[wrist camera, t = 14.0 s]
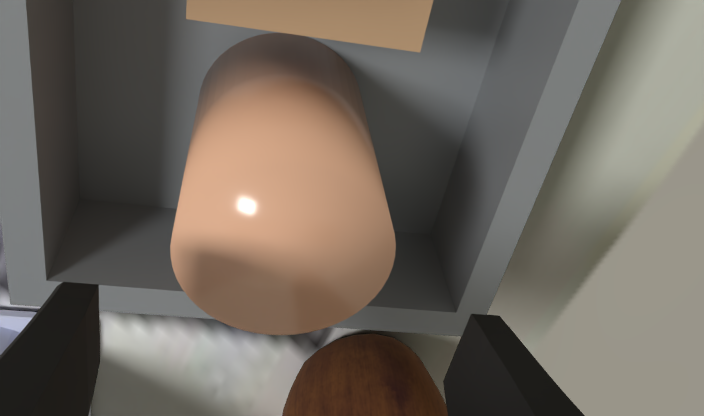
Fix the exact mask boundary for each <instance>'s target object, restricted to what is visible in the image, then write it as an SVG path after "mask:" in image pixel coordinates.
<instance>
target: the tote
mask: <svg viewBox="0 0 704 416" xmlns="http://www.w3.org/2000/svg"><path fill="white" fill-rule="evenodd" d="M620 2H621V0H433V4H432V8H431V12H430V16H429V20H428V23H427V27H426V31H425V35H424V39H423V43H422V47H421V51H420V52H413V51H406V50H399V49H392V48H385V47H378V46H371V45H364V44H357V43H350V42H343V41H336V40H329V39H322V38H315V37H308V36H305V37H308V38H311V39H314V40H316V41H318V42H320V43H322V44H324V45H326V46H327V47H329V48H330V49H331V50H333V51H334V52H335V53H337V54H338V55H339V56H340V57H341V58H342V59H343V60H344V61H345V63H346V64H347V65H348V66H349V68H350V69H351V71H352V73H353V74H354V76H355V78H356V81H357V83H358V85H359V89H360V93H361V97H362V101H363V105H364V109H365V113H366V117H367V122H368V126H369V130H370V134H371V138H372V142H373V146H374V151H375V155H376V159H377V163H378V167H379V171H380V175H381V180H382V184H383V188H384V192H385V196H386V200H387V204H388V208H389V213H390V217H391V221H392V225H393V229H394V233H395V242H396V250H395V259H394V263H393V267H392V270H391V272H390V275H389V277H388V279H387V281H386V283H385V284H384V286H383V288H382V289H381V290H380V291H379V293H378V294H377V295H376V296H375V298H373V299H372V300H371V301H370V302H369V303H368V304H367V305H366V306H365V307H364V308H362V309H361V310H360V311H358V312H357V313H356V314H354V315H352V316H351V317H349V318H347V319H346V320H343V321H341V322H339V323H337V324H335V325H332V326H329V327H335V328H349V329H364V330H378V331H392V332H406V333H420V334H434V335H448V336H462V335H463V332H464V330H465V327H466V325H467V322H468V320H469V318H470V315H471V314H483V315H487V313H488V310H489V308H490V306H491V303H492V301H493V299H494V296H495V294H496V292H497V289H498V287H499V285H500V282H501V280H502V278H503V275H504V273H505V271H506V268H507V266H508V263H509V261H510V259H511V256H512V254H513V252H514V249H515V247H516V245H517V242H518V240H519V238H520V235H521V233H522V231H523V228H524V226H525V224H526V221H527V219H528V217H529V214H530V212H531V210H532V207H533V205H534V203H535V200H536V198H537V196H538V193H539V191H540V189H541V186H542V184H543V182H544V179H545V177H546V175H547V172H548V170H549V168H550V165H551V163H552V161H553V158H554V156H555V154H556V151H557V149H558V147H559V144H560V142H561V140H562V137H563V135H564V133H565V130H566V128H567V126H568V123H569V121H570V119H571V116H572V114H573V112H574V109H575V107H576V105H577V102H578V100H579V98H580V95H581V93H582V91H583V88H584V86H585V84H586V81H587V79H588V77H589V74H590V72H591V70H592V67H593V65H594V63H595V60H596V58H597V56H598V53H599V51H600V49H601V46H602V44H603V42H604V39H605V37H606V35H607V32H608V30H609V28H610V25H611V23H612V21H613V18H614V16H615V14H616V11H617V9H618V7H619V4H620ZM186 6H187V0H0V218H1V227H2V236H3V244H4V253H5V262H6V270H7V279H8V287H9V296H10V304H11V305H25V306H39V307H42V305H43V304H44V303H45V301H46V300H47V299H48V298H49V296H50V295H51V294H52V292H53V291H54V289H55V288H56V287H57V286H58V285H59V284H61V283H62V282H73V283H86V284H99V311H110V312H124V313H138V314H152V315H166V316H180V317H194V318H208V319H215V318H213V317H212V316H210V315H208V314H207V313H206V312H204V311H203V310H202V309H200V308H199V307H198V306H197V305H196V304H195V303H194V302H193V301H192V300H191V299H190V298H189V297H188V296H187V294H186V293H185V292H184V291H183V289H182V288H181V286H180V284H179V282H178V280H177V278H176V276H175V273H174V270H173V267H172V262H171V254H170V244H171V238H172V232H173V227H174V222H175V217H176V212H177V207H178V202H179V196H180V191H181V186H182V181H183V176H184V171H185V166H186V161H187V155H188V150H189V145H190V140H191V135H192V130H193V125H194V120H195V114H196V109H197V104H198V99H199V94H200V89H201V86H202V83H203V80H204V78H205V76H206V74H207V72H208V70H209V69H210V67H211V66H212V64H213V63H214V62H215V61H216V60H217V59H218V58H219V56H220V55H221V54H223V53H224V52H225V51H226V50H228V49H229V48H230V47H232V46H234V45H235V44H237V43H239V42H241V41H243V40H245V39H248V38H250V37H254V36H257V35H262V34H268V33H280V32H273V31H266V30H259V29H252V28H245V27H238V26H231V25H224V24H217V23H210V22H203V21H196V20H189V19H186Z"/></svg>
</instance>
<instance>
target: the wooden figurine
mask: <svg viewBox="0 0 704 416" xmlns="http://www.w3.org/2000/svg"><path fill="white" fill-rule="evenodd" d="M282 416H448V412H447V406H446V404H445V402H444V400H443V398H442V396H441V394H440V392H439V390H438V388H437V386H436V385H435V383H434V381H433V380H432V378H431V376H430V375H429V373H428V371H427V370H426V368H425V366H424V365H423V363H422V361H421V360H420V358H419V357H418V356H417V355H416V354H415V353H414V352H413V351H412V350H411V349H410V348H409V347H408V346H406V345H405V344H403V343H401V342H400V341H398V340H396V339H395V338H392V337H388V336H382V335H377V334H361V335H353V336H349V337H345V338H341V339H337V340H335V341H333V342H332V343H330V344H328V345H326V346H325V347H323V348H321V349H320V350H318V351H317V352H316V353H315V354H313V355H312V356H311V357H310V358H309V359H308V360H306V361H305V362H304V364H303V366H302V368H301V369H300V371H299V373H298V375H297V377H296V379H295V381H294V383H293V385H292V387H291V390H290V392H289V395H288V398H287V401H286V404H285V407H284V410H283V415H282Z"/></svg>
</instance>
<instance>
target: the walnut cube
mask: <svg viewBox="0 0 704 416" xmlns="http://www.w3.org/2000/svg"><path fill="white" fill-rule="evenodd" d="M432 4H433V0H187V6H186V19H189V20H196V21H203V22H210V23H217V24H224V25H231V26H238V27H245V28H252V29H259V30H266V31H273V32H280V33H287V34H294V35H301V36H308V37H315V38H322V39H329V40H336V41H343V42H350V43H357V44H364V45H371V46H378V47H385V48H392V49H399V50H406V51H413V52H420V51H421V47H422V43H423V39H424V35H425V31H426V27H427V23H428V20H429V16H430V12H431V8H432Z"/></svg>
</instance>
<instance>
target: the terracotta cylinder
mask: <svg viewBox="0 0 704 416" xmlns="http://www.w3.org/2000/svg"><path fill="white" fill-rule="evenodd" d="M395 250H396V242H395V233H394V229H393V225H392V221H391V217H390V213H389V208H388V204H387V200H386V196H385V192H384V188H383V184H382V180H381V175H380V171H379V167H378V163H377V159H376V155H375V151H374V146H373V142H372V138H371V134H370V130H369V126H368V122H367V117H366V113H365V109H364V105H363V101H362V97H361V93H360V89H359V85H358V83H357V81H356V78H355V76H354V74H353V73H352V71H351V69H350V68H349V66H348V65H347V64H346V63H345V61H344V60H343V59H342V58H341V57H340V56H339V55H338V54H337V53H335V52H334V51H333V50H331V49H330V48H329V47H327V46H326V45H324V44H322V43H320V42H318V41H316V40H314V39H311V38H308V37H305V36H301V35H294V34H287V33H268V34H262V35H257V36H254V37H250V38H248V39H245V40H243V41H241V42H239V43H237V44H235V45H234V46H232V47H230V48H229V49H228V50H226V51H225V52H224V53H223V54H221V55H220V56H219V58H218V59H217V60H216V61H215V62H214V63H213V64H212V66H211V67H210V69H209V70H208V72H207V74H206V76H205V78H204V80H203V83H202V86H201V89H200V94H199V99H198V104H197V109H196V114H195V120H194V125H193V130H192V135H191V140H190V145H189V150H188V155H187V161H186V166H185V171H184V176H183V181H182V186H181V191H180V196H179V202H178V207H177V212H176V217H175V222H174V227H173V232H172V238H171V244H170V254H171V262H172V267H173V270H174V273H175V276H176V278H177V280H178V282H179V284H180V286H181V288H182V289H183V291H184V292H185V293H186V294H187V296H188V297H189V298H190V299H191V300H192V301H193V302H194V303H195V304H196V305H197V306H198V307H199V308H200V309H202V310H203V311H204V312H206V313H207V314H208V315H210V316H212V317H213V318H215V319H217V320H219V321H221V322H223V323H225V324H227V325H230V326H232V327H235V328H238V329H241V330H245V331H249V332H254V333H260V334H268V335H293V334H301V333H308V332H313V331H316V330H320V329H324V328H327V327H329V326H332V325H335V324H337V323H339V322H341V321H343V320H346V319H347V318H349V317H351V316H352V315H354V314H356V313H357V312H358V311H360V310H361V309H362V308H364V307H365V306H366V305H367V304H368V303H369V302H370V301H371V300H372V299H373V298H375V296H376V295H377V294H378V293H379V291H380V290H381V289H382V288H383V286H384V284H385V283H386V281H387V279H388V277H389V275H390V272H391V270H392V267H393V263H394V259H395Z"/></svg>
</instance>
